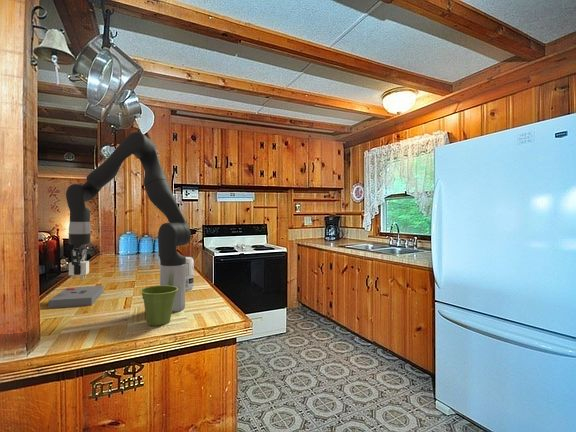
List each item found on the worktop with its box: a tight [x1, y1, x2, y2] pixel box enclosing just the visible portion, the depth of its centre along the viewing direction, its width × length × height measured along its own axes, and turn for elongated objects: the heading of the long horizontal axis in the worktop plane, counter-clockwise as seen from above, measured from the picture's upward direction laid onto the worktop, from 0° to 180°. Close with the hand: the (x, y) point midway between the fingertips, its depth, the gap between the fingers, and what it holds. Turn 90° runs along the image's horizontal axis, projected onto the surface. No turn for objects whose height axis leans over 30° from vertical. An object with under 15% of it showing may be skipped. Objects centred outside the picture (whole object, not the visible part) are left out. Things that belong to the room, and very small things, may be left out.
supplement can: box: [185, 256, 195, 291], centre depth 147 cm, size 8×8×15 cm
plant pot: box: [139, 285, 178, 327], centre depth 102 cm, size 12×12×11 cm
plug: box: [68, 260, 90, 281], centre depth 126 cm, size 4×6×7 cm
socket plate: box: [48, 285, 104, 309], centre depth 126 cm, size 20×14×4 cm
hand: (79, 273), depth 126 cm, fingers closed on plug, 4 cm apart
